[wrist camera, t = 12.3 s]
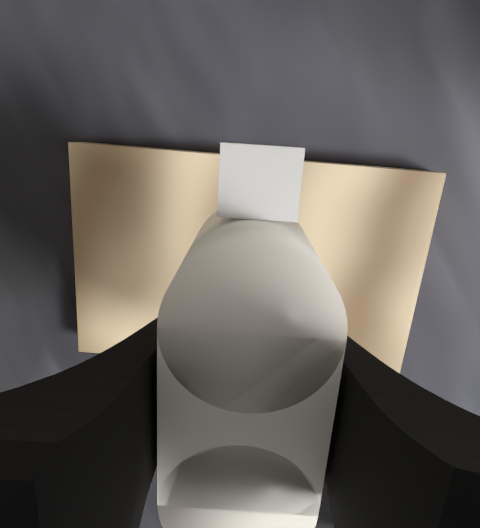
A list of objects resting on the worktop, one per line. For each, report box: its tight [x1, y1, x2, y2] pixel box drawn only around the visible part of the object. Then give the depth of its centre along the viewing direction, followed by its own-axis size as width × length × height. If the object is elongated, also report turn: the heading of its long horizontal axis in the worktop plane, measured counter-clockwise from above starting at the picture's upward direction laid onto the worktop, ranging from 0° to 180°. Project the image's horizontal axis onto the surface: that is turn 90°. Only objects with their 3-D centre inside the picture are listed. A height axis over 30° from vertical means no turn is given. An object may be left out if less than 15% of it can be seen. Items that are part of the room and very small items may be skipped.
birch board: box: [68, 142, 446, 373], centre depth 19 cm, size 16×10×2 cm, turn 85°
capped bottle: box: [157, 142, 348, 528], centre depth 10 cm, size 4×10×5 cm, turn 176°
